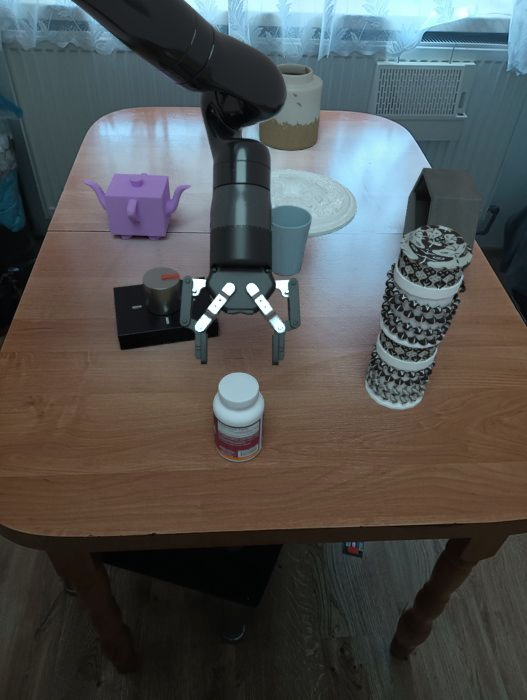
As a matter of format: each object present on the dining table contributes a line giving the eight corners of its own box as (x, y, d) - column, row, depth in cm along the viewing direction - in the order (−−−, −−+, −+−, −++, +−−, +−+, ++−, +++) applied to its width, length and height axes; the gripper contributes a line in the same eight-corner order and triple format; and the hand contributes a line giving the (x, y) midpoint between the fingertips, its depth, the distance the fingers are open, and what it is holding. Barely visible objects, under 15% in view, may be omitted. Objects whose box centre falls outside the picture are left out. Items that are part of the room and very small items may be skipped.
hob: (120, 350, 81) (117, 334, 79) (115, 301, 89) (112, 286, 87) (218, 336, 84) (218, 321, 82) (205, 290, 92) (204, 275, 90)
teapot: (125, 257, 99) (116, 203, 91) (91, 227, 106) (80, 174, 98) (194, 231, 106) (191, 179, 99) (157, 204, 113) (152, 154, 106)
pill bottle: (227, 418, 72) (227, 360, 65) (270, 434, 71) (274, 376, 63) (205, 453, 68) (202, 395, 60) (250, 471, 66) (252, 414, 59)
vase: (257, 149, 135) (259, 77, 124) (260, 125, 147) (262, 58, 135) (318, 152, 135) (325, 81, 124) (316, 128, 147) (323, 61, 135)
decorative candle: (382, 355, 82) (420, 207, 65) (437, 385, 78) (494, 234, 61) (349, 389, 77) (382, 237, 60) (407, 422, 73) (460, 269, 56)
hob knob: (146, 316, 82) (142, 288, 79) (145, 294, 86) (141, 266, 83) (183, 313, 83) (181, 285, 79) (180, 291, 87) (178, 264, 83)
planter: (401, 210, 106) (432, 147, 86) (440, 213, 105) (481, 151, 85) (399, 292, 102) (432, 246, 82) (440, 295, 102) (483, 250, 81)
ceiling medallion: (224, 236, 105) (224, 222, 103) (227, 172, 126) (227, 158, 123) (366, 238, 107) (369, 224, 104) (346, 174, 127) (348, 161, 125)
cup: (256, 262, 99) (258, 211, 92) (290, 251, 102) (294, 201, 95) (279, 284, 95) (283, 232, 87) (314, 271, 98) (320, 220, 91)
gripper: (178, 221, 61) (176, 364, 60) (303, 223, 61) (302, 365, 61) (185, 236, 68) (183, 364, 68) (296, 238, 69) (295, 365, 69)
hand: (239, 365), depth 65 cm, fingers open, 8 cm apart
